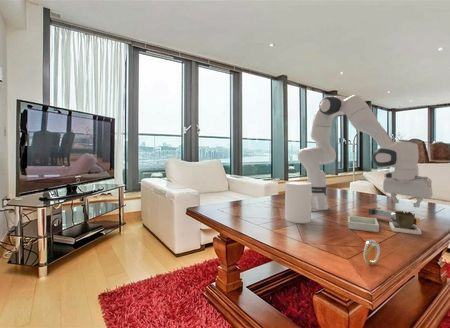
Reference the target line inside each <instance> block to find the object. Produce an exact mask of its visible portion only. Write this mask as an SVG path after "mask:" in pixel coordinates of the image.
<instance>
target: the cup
mask: <svg viewBox="0 0 450 328" xmlns="http://www.w3.org/2000/svg"><path fill="white" fill-rule="evenodd" d="M396 211H397V212H396ZM398 211H399V212H398ZM394 212H395V216H396V222H397V224H398V225H400V227H399V228H401V229H410V228H409V227H411V226H412V225H413V222H414V217H416V214H415V213H413V212H411V211H408V212H407V210H405V211H403V210H394Z"/></svg>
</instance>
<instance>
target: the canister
mask: <svg viewBox="0 0 450 328" xmlns="http://www.w3.org/2000/svg"><path fill="white" fill-rule="evenodd" d="M284 189H285V191H284V192H285V197H284V199H285V200H284V202H285V203H284V205H285V206H284V207H285V208H284V209H285V210H284V211H285V213H284V214H285V215H284V216H285V218H284V219H285V221H287V222H290V223H295V224H296V223H297V224H307V223H310V222H312V211H311V194H312V183H311V182H308V181H303V180H293V181H291V180H290V181H285V187H284Z"/></svg>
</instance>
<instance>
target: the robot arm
mask: <svg viewBox="0 0 450 328" xmlns="http://www.w3.org/2000/svg"><path fill="white" fill-rule="evenodd" d="M343 116H346V117H347V119H348V121H349V122H350V124H351V126H352V127H353V128H354V129H355V130H356V131H358V132H361V133H365V134H366V135H369V136H370V137H371V138H372V139H373V140H375V142H376V144H377V145H378V146H379V148H377V149H375V150H374V151H373V154H372V156H371V158H372V162H373V164H374V165H375V166H377V167H378V168H379V167H380V168H394V170H393V171H389V172H386V173H384V174H383V177H384V179H383V185H382V186H383V187H382V189H383V192H384V193H388V194H390V197H391V199H392V202H393V204H399V202H400V200H399V199H398V198H397V195H401V196H406V197H413V198H415V199H416V202H413V207H414V208H420V207H421V205H420V204H421V203H422V202H423V200H424V199H431V198H432V197H433V187H432V180H431V178H429V177H428V176H421V175H419V165H418V164H419V163H418V162H419V156H420V155H419V154H420V153H419V146H418V144H417V142H416V141H413V140H406V139H398V140H396V141H395V142H394V141H393V139H392V137H390V134H388V132H387V131H386V130H385V128H384V127H383V126H382V124H381V123H380V122H379V120H378V119H377V117H376V115H375V114H374V112H373V111H372V109H371V107H370V106H369V104H367V102H366V101H365V100H364V99H363V98H362V96H360V95H355V94H353V95H349V96H343V95H328V96H327V95H326V96H325V97H322V99H320V102H319V105H318V108H317V109H316V111H315V114H314V116H313V120H312V127H311V133H310V138H311V139H312V140H313V141H314V142H315V145H316V146H314V147H311V146H310V147H309V146H308V147H304V148H301V149H299V151H298V153H297V160H298V162H299V163H300V164H301V165H302V166H303V167H304V169H305V171H306V176H307V182H311V183H312V194H311V212H312V211H313V212H318V211H327V210H329V209H330V208H329V205H328V200H327V194H328V187H327V174H326V173H325V171H323V170H321V167H320V165H329V164H332V163H334V162H335V161H336V158H337V153H336V150H335V149H334V148H333V147H332V144H331V132H332V126H333V120H334V118H335V117H343Z"/></svg>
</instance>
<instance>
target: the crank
mask: <svg viewBox="0 0 450 328" xmlns="http://www.w3.org/2000/svg"><path fill="white" fill-rule="evenodd" d="M395 211H396V212H397V211H398V212H399V211H400V210H395ZM395 211H390V210H385V209H382V208H381V207H370V208H368V215H369V216H370V215H371V216H377V217H378V216H379V217H381V218H385V219H386V218H387V219H390V220H391V219H392V220H395V221H396V216H395ZM420 219H421V218H420V217H417V216H415V217H414V222H413V224H414V225H416V226H419V225H420V224H421V223H420V221H421V220H420Z"/></svg>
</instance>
